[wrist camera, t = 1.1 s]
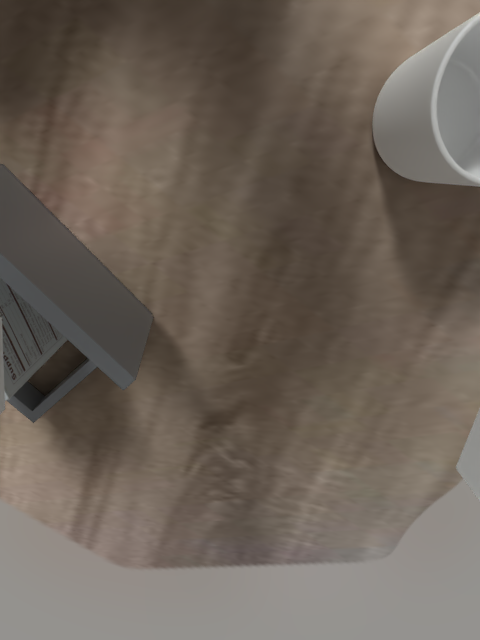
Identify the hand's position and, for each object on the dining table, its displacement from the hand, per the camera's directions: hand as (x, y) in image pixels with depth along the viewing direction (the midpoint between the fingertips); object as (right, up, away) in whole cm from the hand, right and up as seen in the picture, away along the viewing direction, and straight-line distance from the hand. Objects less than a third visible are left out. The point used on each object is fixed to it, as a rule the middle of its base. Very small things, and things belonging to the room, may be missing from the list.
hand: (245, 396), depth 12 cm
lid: (-12, +6, +13) cm, 19 cm away
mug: (+15, +16, +20) cm, 29 cm away
